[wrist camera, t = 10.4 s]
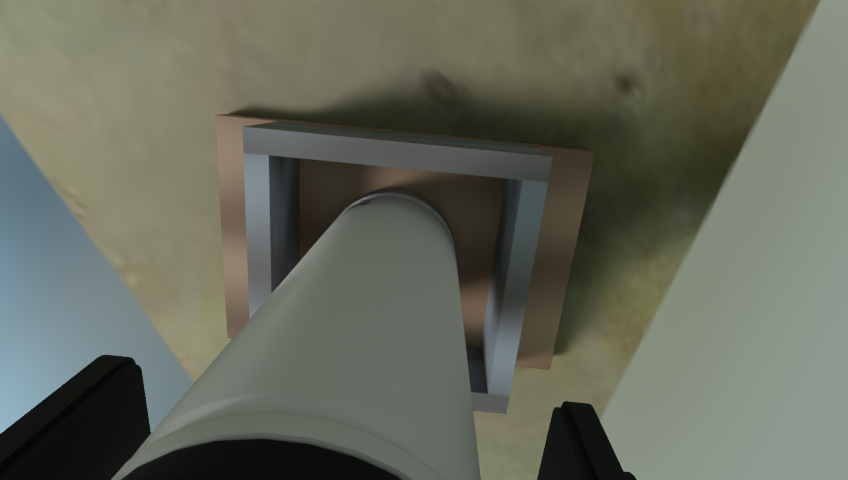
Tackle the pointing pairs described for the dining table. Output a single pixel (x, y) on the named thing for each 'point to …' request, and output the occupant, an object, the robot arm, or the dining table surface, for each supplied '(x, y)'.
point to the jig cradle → (435, 181)
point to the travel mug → (338, 366)
